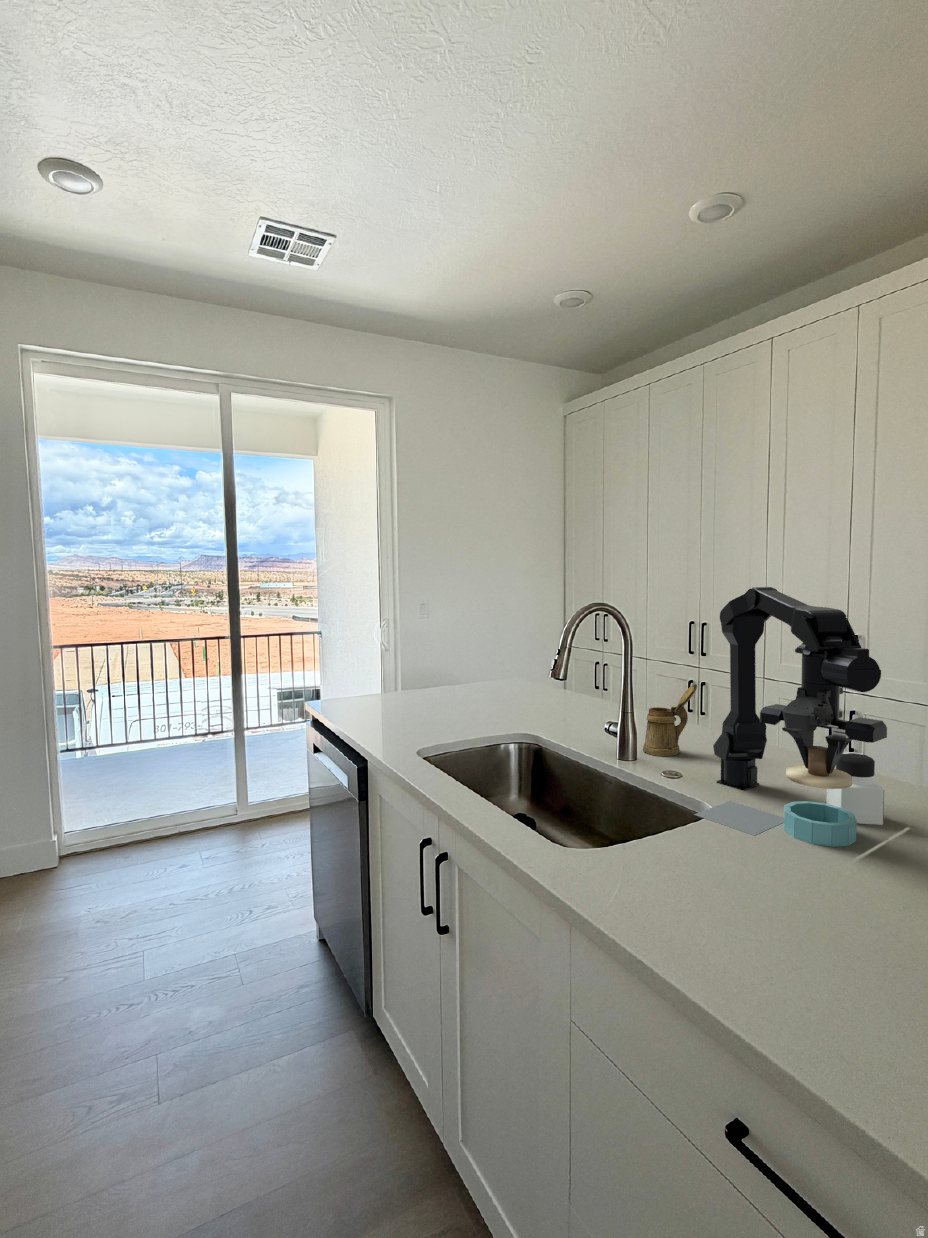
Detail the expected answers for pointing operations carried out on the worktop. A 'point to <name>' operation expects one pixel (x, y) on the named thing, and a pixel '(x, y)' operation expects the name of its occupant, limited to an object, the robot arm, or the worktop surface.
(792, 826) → the bowl
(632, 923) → the worktop surface
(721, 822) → the mat
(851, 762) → the medicine bottle
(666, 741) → the wooden mug
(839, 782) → the lid
